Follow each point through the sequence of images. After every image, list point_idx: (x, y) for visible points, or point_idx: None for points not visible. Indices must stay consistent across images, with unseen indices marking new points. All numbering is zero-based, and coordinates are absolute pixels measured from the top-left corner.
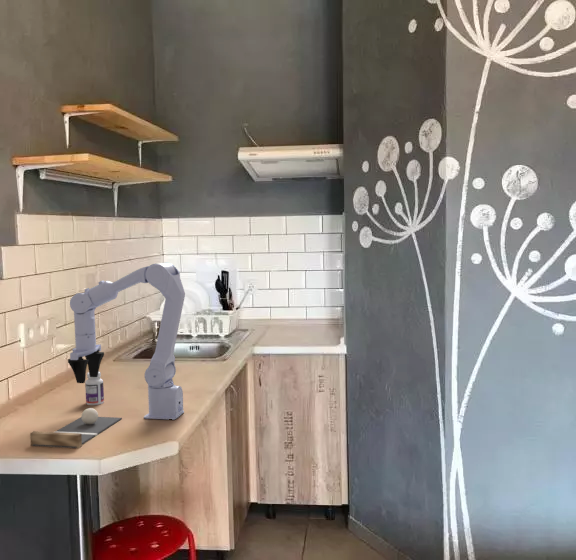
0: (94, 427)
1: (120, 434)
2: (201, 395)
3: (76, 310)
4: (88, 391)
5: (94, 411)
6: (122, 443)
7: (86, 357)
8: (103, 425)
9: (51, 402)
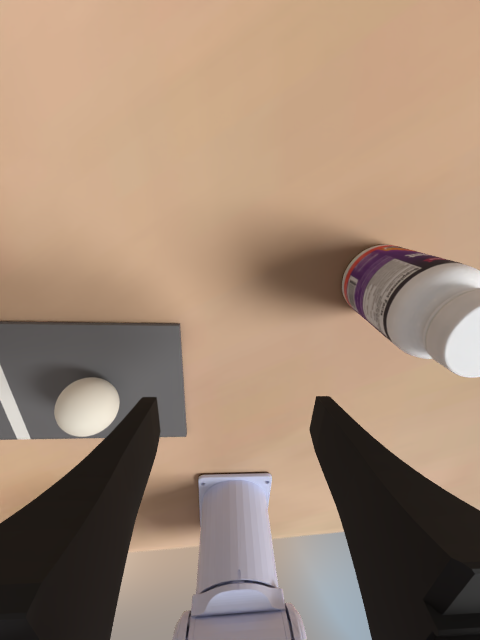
0: None
1: (62, 475)
2: None
3: None
4: (373, 287)
5: (79, 436)
6: (6, 499)
7: (412, 535)
8: None
9: (429, 18)
